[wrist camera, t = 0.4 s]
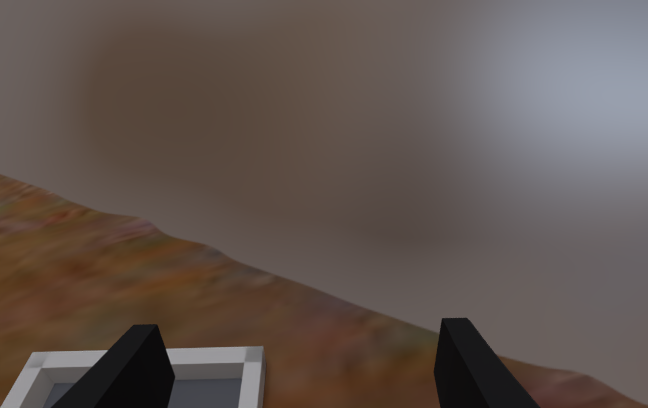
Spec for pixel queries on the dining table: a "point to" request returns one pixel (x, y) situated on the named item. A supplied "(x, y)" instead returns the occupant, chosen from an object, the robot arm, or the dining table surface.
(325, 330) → the dining table surface
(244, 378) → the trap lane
